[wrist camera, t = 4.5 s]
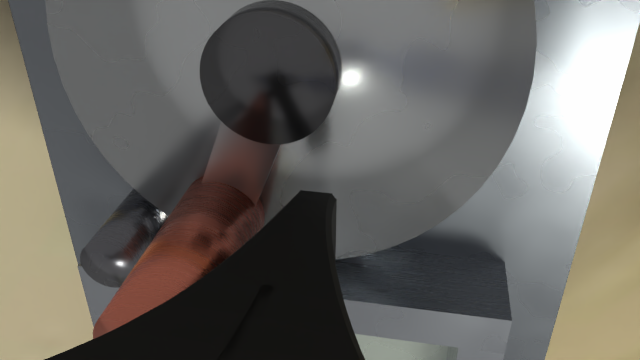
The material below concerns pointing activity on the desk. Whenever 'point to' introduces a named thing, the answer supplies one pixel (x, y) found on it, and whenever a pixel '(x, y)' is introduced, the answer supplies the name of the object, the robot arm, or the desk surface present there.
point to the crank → (291, 116)
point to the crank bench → (429, 247)
